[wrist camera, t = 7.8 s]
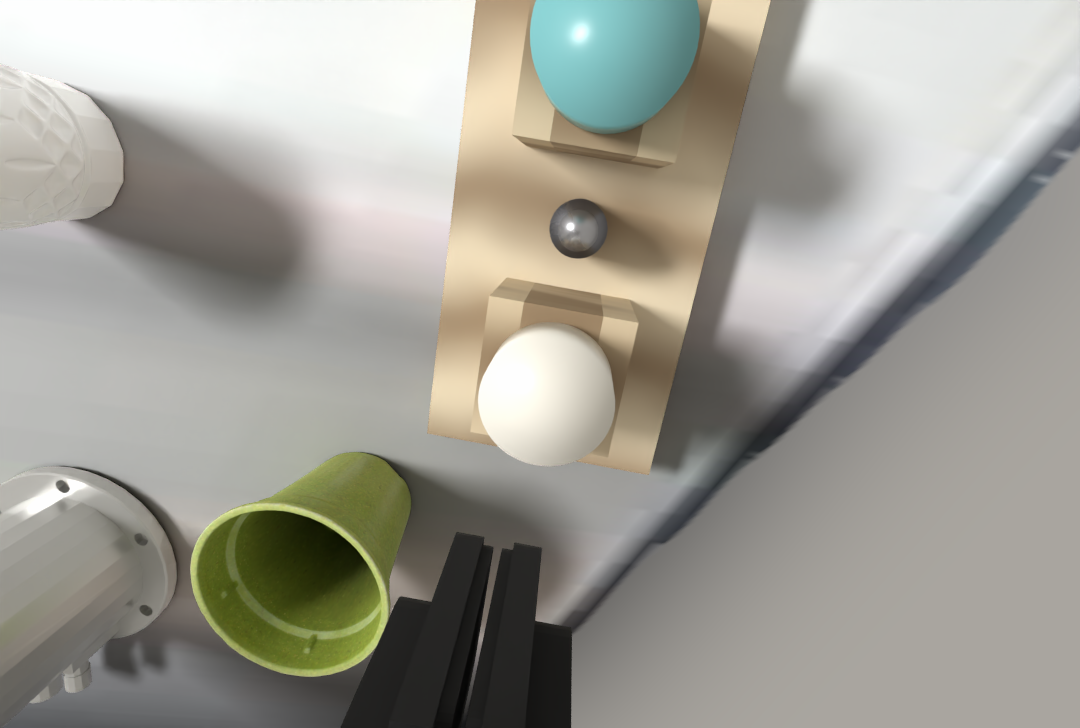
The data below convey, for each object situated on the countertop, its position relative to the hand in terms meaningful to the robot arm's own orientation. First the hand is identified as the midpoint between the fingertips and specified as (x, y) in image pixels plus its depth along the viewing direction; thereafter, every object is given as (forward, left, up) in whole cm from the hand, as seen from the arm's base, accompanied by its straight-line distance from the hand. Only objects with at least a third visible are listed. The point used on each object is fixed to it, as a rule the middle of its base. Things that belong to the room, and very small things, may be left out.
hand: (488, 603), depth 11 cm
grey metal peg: (+6, 0, -18) cm, 19 cm away
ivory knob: (0, 0, -18) cm, 17 cm away
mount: (+6, 0, -20) cm, 21 cm away
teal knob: (+12, 0, -17) cm, 21 cm away
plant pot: (-12, +10, -20) cm, 25 cm away
